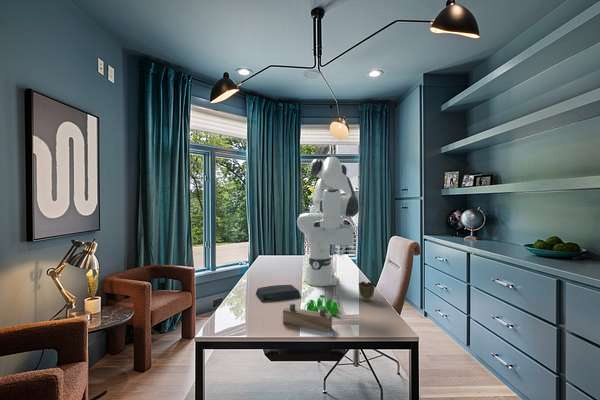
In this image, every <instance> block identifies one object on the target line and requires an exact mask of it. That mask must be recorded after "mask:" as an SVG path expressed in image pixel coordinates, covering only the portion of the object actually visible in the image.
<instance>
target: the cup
mask: <svg viewBox="0 0 600 400" xmlns="http://www.w3.org/2000/svg"><path fill="white" fill-rule="evenodd" d="M375 286H376V284H375V283H374V282H372V281H368V282H367V283H366V281H360V282H358V289H359V295H360V296H361V297H362V300H363V301H364V302H370V301H371V300H372V299H371V298H372V297H373V296H374V294H375V289H376V288H375Z"/></svg>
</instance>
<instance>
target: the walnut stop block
mask: <svg viewBox="0 0 600 400" xmlns="http://www.w3.org/2000/svg"><path fill="white" fill-rule="evenodd" d="M282 323H283V324H285V325H289V326H295V327H300V328H305V329H308V330H309V329H310V330H315V331H319V332H325V333H329V332H330V331H331V330H332V329H333V315H332V314H330V313H328V314H327V313H325V309H324V308H321V309H320V308H319V311H318V312H315V311H309V310H307V309H304V308H303V309H302V308H297V307H296V304H295V303H289V306H287V307H285V308H284V309H283V310H282Z"/></svg>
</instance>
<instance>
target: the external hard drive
mask: <svg viewBox="0 0 600 400" xmlns="http://www.w3.org/2000/svg"><path fill="white" fill-rule="evenodd" d="M300 293H301V292H300V291H299V290H298V289H297V288H296V287H295V286H294V285H292V284H279V285H278V284H277V285H276V284H275V285H268V286H267V285H266V286H261V287H258V288H256V291H255V296H256V297H257V298H258V300H259V302H261V303H265V302H266V303H268V302H277V301H286V300H294V299H300V298H301V297H302V296H301V294H300Z"/></svg>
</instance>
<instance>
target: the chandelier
mask: <svg viewBox="0 0 600 400" xmlns="http://www.w3.org/2000/svg"><path fill="white" fill-rule="evenodd" d="M325 298H326V295H325V294H320V295H319V297H318V298H317V301H315V300H314V299H310V300H308V301H307V303H306V304H304V308H303V309H304V310H309V311H315V312H320V309H321V308H324V309H325V313H327V314H332V316H337V315H339V310H340V308H341V305H340V303H339V302H338V301H333V300H332V299H331V298H327V299H326V302H325V305H323V304H324V299H325Z"/></svg>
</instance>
